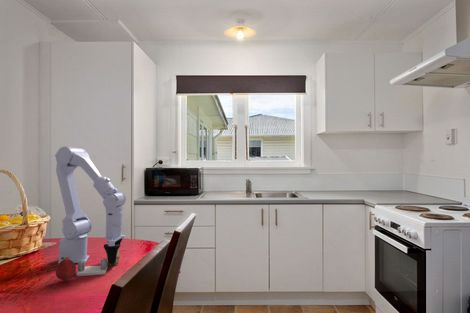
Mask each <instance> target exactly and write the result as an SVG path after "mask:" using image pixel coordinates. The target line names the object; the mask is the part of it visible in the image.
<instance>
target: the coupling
mask: <svg viewBox="0 0 470 313" xmlns="http://www.w3.org/2000/svg"><path fill="white" fill-rule="evenodd" d="M120 256H121V255H120V248H119V249H118V252H117V256H116V261H115V264H109V262H108V257H107V256H106V259H107V265H108V266H109V267H113V266H114V267H115V266H117V265H119V263H120V262H119V261H120V260H119V259H120Z"/></svg>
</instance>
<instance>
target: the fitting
mask: <svg viewBox="0 0 470 313" xmlns="http://www.w3.org/2000/svg"><path fill="white" fill-rule="evenodd" d="M107 270H108V265H107V258H105V257H103V258H102V259H100V264H99V265H87V266H86V262H85V260H83V259H81V261H79V262H78V263H77V271H76V277H83V276H84V277H85V276H95V275H96V276H98V275H106V272H107Z"/></svg>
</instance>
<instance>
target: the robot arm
mask: <svg viewBox="0 0 470 313" xmlns="http://www.w3.org/2000/svg"><path fill="white" fill-rule="evenodd" d="M85 149H86V148H85ZM85 149H84V148H83V147H74V146H72V147H70V146H61V147H60V148H58V150H57V151H56V153H55V154H54V157H55V161H56V167H55V168H56V169H55V172H56V177H57V182H58V185H59V189H60V193H61V196H62V198H61V199H62V201H63V206H64V211H65V214H66V215H65V216H64V217H63V219H62V221H61V222H62V228H61V229H62V230H61V231H62V235H63V236H64V237H61V239H60V240H59V247H58V263H57V265H58V264H59V263H60V262H61V261H62V260H63V259H64V258H65V257H67V256H68V257H69V260H71V261H73V262H74V264H78V262H79V261H81V259H83V260H85V263H87V261H88V260H89V258H90V255H88V236H89V233H90V232H91V231H92V228H93V226H92V222H91V220H90V219H89V216H88V214H87V213H86V212H84V211H83V210H82V206H81V201H80V197H79V193H78V189H77V184H76V182H75V177H74V172H75V170H76V169H77V168H78V167H80V168H81V169H82V170H83V171H84V173H86V174H87V176H88V177H89V178H90V179H91V180H92V181H93V185H92V186H93V188H94V190H96V191H97V193H98V194H99V195H100V197H101V198H102V199H103V200H102V204H103V206H104V208H105V212H106V213H105V236H104V239H105V240H106V242H107V243H105V244H104V245H103V249H104V251H105V253H106V258H107V257H108V262H109V264H115V261H116V256H117V252H118V249H119V250H120V247H121V243H122V241H123V239H124V238H125V237H126V234H122V232H123V206H124V205H125V203H126V200H127V199H126V195H125V194H124V192H123V191H120V190H118V188H116V187H115V185H113V183H112V182H111V178H109V177H107V176H102V174H101V173H100V172H99V171H100V170H98V168H97V167H96V166H95V164H94V163H93V162H92V160H91V158H90V154H89V153H88V152H87V151H86V150H85Z"/></svg>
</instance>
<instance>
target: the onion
mask: <svg viewBox="0 0 470 313" xmlns="http://www.w3.org/2000/svg"><path fill="white" fill-rule="evenodd" d="M58 263H59V262H58ZM58 263H57V265H56V267H55V276H56V277H57V279H59V280H60V281H63V282H68V281H69V280H70V279H71V278H72V277H73V276H74V275H75V273H77V265H76V263H74V262H73V261H71V260H69V257H68V256H67V257H65V258H64V259H63V260H62V261H61V262H60V263H59V264H58Z"/></svg>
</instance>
